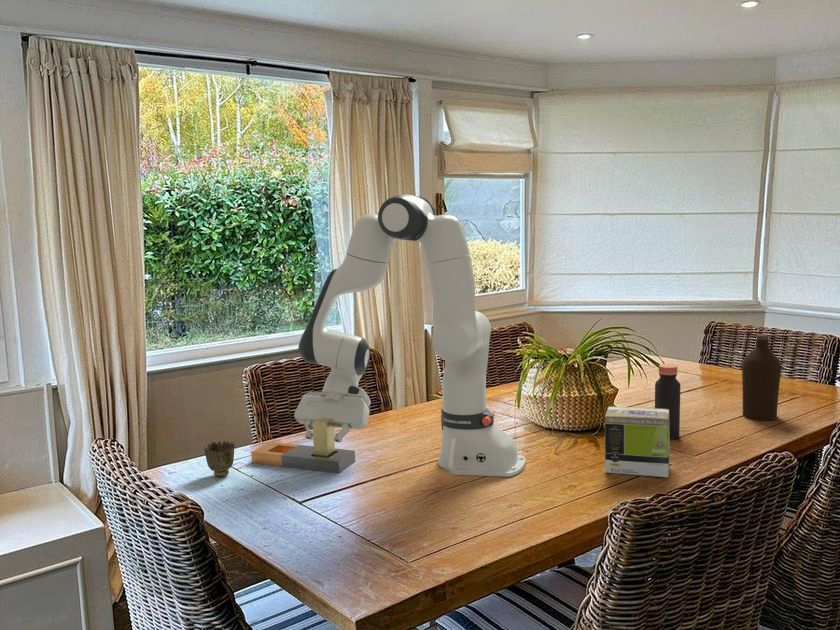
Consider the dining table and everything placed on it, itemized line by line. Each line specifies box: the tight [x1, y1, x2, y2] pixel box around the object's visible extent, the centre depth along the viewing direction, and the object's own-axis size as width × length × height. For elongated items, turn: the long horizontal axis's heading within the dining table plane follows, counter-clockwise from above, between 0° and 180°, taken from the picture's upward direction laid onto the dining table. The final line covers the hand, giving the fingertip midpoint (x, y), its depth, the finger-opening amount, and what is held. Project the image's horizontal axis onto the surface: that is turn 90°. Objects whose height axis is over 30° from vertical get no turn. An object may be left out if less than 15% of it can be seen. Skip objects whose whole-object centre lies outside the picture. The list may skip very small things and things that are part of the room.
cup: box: [203, 440, 236, 478], centre depth 191 cm, size 8×7×8 cm
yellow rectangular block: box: [312, 418, 336, 458], centre depth 196 cm, size 4×4×12 cm
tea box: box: [604, 405, 671, 479], centre depth 186 cm, size 15×10×15 cm
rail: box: [250, 441, 356, 474], centre depth 200 cm, size 26×9×3 cm, turn 68°
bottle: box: [654, 363, 681, 440], centre depth 212 cm, size 7×7×20 cm
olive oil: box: [741, 333, 782, 421], centre depth 227 cm, size 11×11×25 cm
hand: (322, 439), depth 196 cm, fingers open, 7 cm apart
